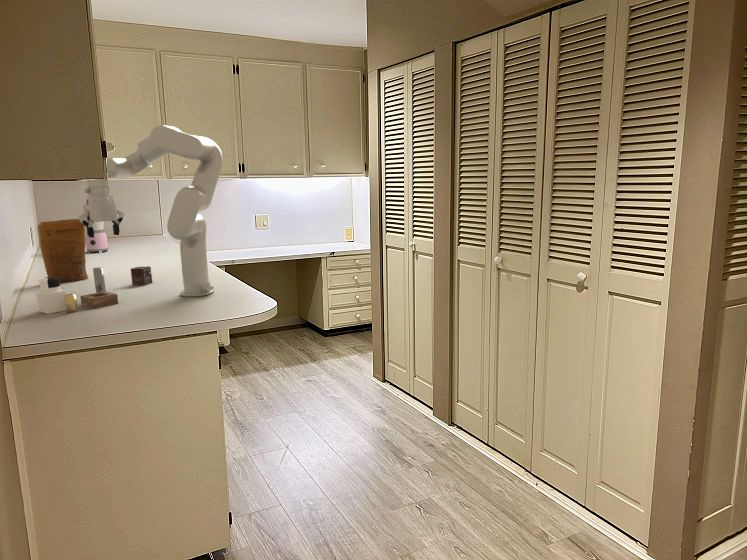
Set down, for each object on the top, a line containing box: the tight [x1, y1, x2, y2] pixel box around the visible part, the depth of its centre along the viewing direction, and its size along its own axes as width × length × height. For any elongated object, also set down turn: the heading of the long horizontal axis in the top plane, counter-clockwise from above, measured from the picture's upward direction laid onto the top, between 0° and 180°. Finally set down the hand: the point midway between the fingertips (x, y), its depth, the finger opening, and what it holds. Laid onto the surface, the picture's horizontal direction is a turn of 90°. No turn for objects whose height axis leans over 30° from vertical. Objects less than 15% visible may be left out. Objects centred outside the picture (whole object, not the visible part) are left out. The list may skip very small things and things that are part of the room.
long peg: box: [92, 266, 107, 293], centre depth 208 cm, size 3×3×12 cm
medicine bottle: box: [36, 276, 67, 315], centre depth 191 cm, size 7×7×12 cm
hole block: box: [80, 291, 119, 309], centre depth 200 cm, size 9×9×4 cm
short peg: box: [64, 293, 79, 314], centre depth 189 cm, size 3×3×6 cm
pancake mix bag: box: [36, 218, 89, 284], centre depth 245 cm, size 7×19×28 cm, turn 127°
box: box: [130, 265, 153, 286], centre depth 236 cm, size 6×6×7 cm
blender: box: [81, 203, 109, 253], centre depth 344 cm, size 16×12×32 cm
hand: (104, 236), depth 213 cm, fingers open, 9 cm apart
